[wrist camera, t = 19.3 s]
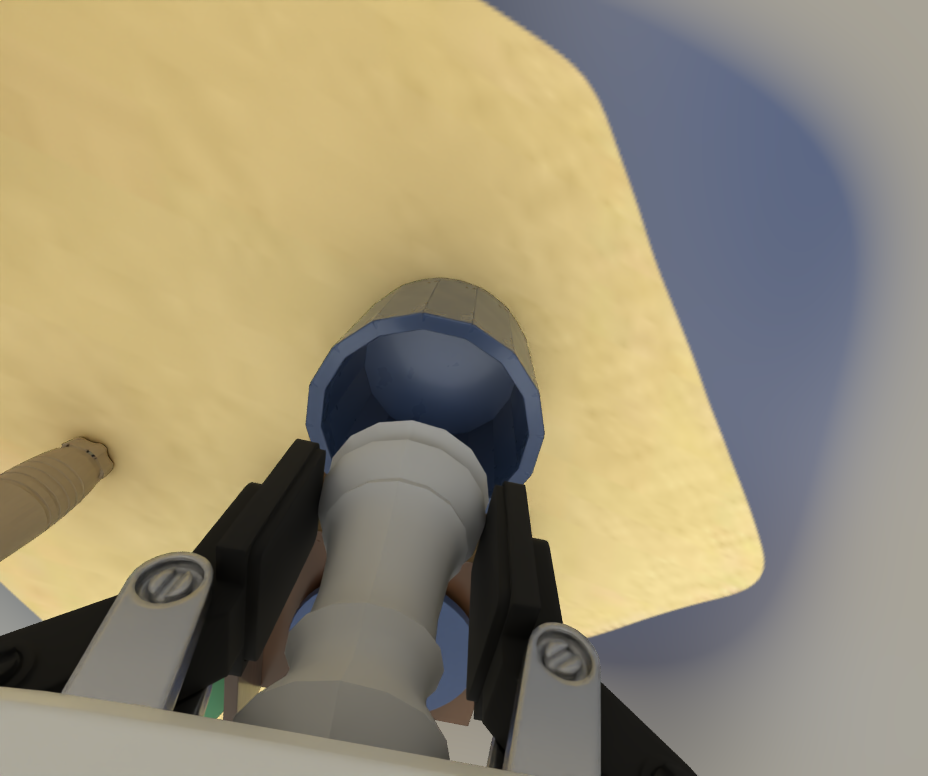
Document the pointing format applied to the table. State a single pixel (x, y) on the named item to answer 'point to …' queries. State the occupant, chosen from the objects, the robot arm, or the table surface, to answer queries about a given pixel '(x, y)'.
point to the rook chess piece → (380, 591)
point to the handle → (47, 490)
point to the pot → (435, 377)
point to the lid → (448, 639)
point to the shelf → (273, 656)
